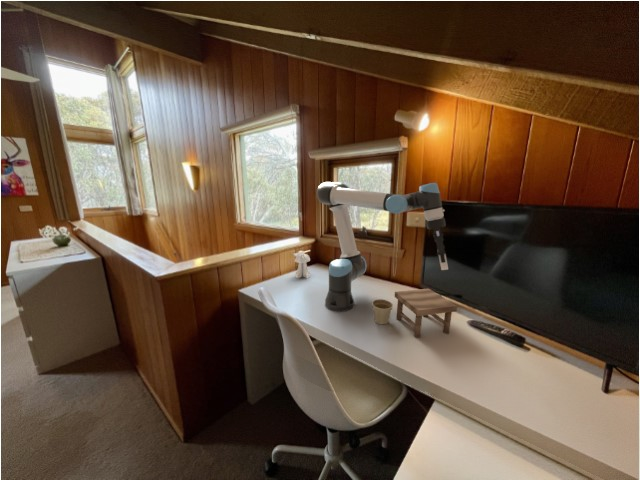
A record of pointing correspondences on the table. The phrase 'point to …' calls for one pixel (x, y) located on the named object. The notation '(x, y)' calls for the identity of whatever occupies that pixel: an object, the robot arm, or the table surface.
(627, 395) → the table surface
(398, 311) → the walnut stool
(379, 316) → the flower pot
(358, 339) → the table surface
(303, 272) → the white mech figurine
